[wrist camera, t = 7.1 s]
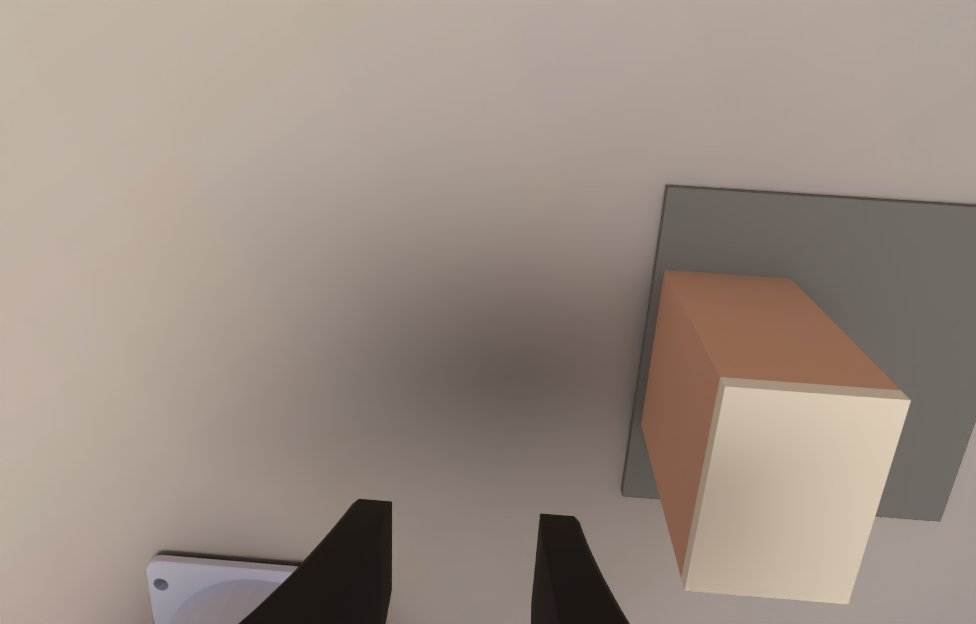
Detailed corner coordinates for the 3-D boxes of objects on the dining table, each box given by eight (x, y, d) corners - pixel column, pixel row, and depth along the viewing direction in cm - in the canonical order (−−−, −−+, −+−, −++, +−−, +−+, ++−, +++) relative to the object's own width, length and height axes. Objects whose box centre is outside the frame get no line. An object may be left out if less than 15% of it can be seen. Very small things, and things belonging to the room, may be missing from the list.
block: (756, 433, 22) (847, 604, 16) (641, 424, 22) (684, 590, 16) (790, 278, 20) (910, 400, 14) (664, 269, 20) (725, 386, 14)
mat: (935, 515, 23) (940, 521, 23) (621, 490, 24) (622, 496, 23) (1041, 209, 19) (1048, 212, 19) (665, 185, 20) (668, 187, 20)
